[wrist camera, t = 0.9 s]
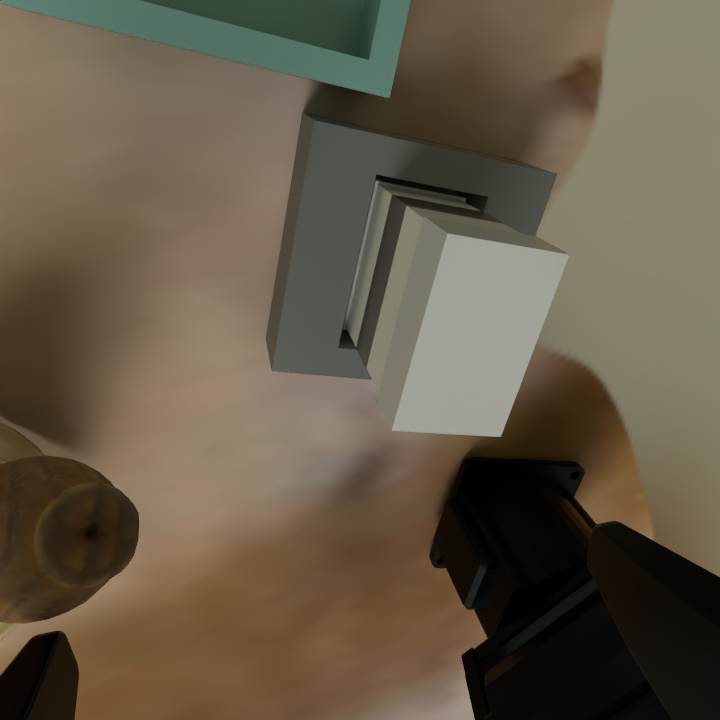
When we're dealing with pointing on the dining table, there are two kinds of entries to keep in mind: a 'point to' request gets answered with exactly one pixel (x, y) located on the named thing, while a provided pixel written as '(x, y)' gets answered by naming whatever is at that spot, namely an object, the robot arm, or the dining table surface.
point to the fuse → (446, 308)
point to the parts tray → (261, 32)
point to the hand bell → (56, 532)
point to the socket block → (347, 222)
